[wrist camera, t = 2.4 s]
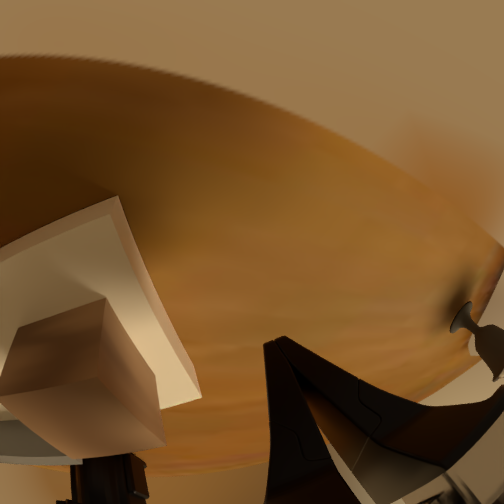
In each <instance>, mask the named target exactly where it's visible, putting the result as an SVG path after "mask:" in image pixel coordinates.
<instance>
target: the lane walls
mask: <svg viewBox="0 0 504 504" xmlns="http://www.w3.org/2000/svg"><path fill="white" fill-rule="evenodd" d="M0 463H9V464H22V465H77V464H83V463H82V459H71V458H70V457H68V456H67V455H65V454H64V453H62V452H61V451H59V450H58V449H56V448H55V447H53V446H52V445H51V444H49V443H48V442H46V441H45V440H44V439H42V438H41V437H40V436H38V435H37V434H36V433H34V432H33V431H32V430H31V429H29V428H28V427H27V426H26V425H24V424H23V423H22V422H21V421H20V420H6V421H0Z"/></svg>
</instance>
